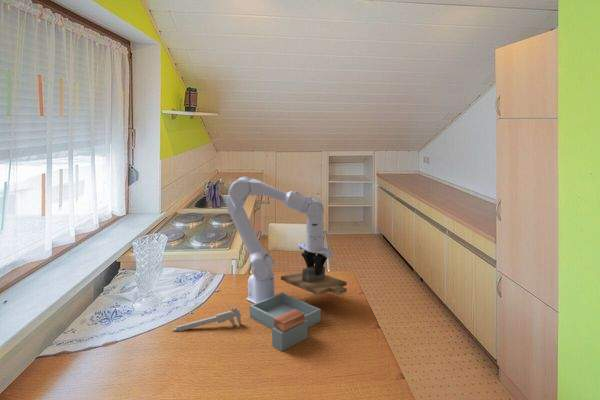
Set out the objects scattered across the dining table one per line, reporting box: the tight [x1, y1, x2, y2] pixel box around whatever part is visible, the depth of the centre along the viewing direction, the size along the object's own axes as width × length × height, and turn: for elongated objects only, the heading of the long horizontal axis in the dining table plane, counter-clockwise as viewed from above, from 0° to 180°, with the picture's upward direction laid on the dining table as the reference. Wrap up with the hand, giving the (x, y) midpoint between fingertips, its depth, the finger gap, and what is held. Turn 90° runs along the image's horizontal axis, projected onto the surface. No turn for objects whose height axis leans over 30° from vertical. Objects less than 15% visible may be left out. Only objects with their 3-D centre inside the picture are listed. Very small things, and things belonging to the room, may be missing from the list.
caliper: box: [172, 306, 242, 332], centre depth 121 cm, size 20×1×6 cm, turn 100°
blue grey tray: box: [249, 292, 322, 352], centre depth 122 cm, size 22×20×5 cm
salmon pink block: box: [274, 309, 305, 331], centre depth 112 cm, size 4×8×2 cm, turn 135°
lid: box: [280, 265, 348, 296], centre depth 135 cm, size 22×14×6 cm, turn 45°
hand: (314, 273), depth 137 cm, fingers closed on lid, 3 cm apart
